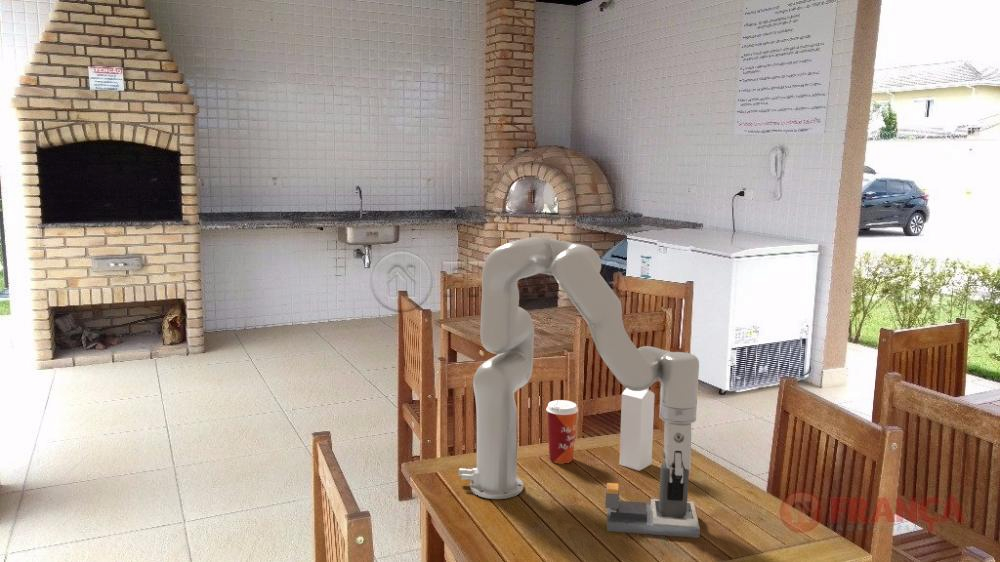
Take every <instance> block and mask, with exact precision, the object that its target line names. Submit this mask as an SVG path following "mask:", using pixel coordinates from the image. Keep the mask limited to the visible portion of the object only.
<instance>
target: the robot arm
mask: <svg viewBox="0 0 1000 562" xmlns="http://www.w3.org/2000/svg"><path fill="white" fill-rule="evenodd" d="M601 269H602V261H601V258H600V255H599V254H598V252H597V251H596V250H595V249H593V248H592V247H590V246H588V245H584V244H580V243H575V242H569V241H563V240H559V239H555V238H550V237H545V236H544V237H543V236H531V237H526V238H521V239H518V240H514V241H510V242H507V243H505V244H503V245H500V246H498V247H497V248H495V249H493V251H491V252H490V253H489V255H488V256H487V257H486V259H485V261H484V263H483V266H482V271H481V305H480V330H479V331H480V332H479V333H480V342H481V345H482V347H483V348H484V349H485V350H486V351H487V352H489V353H491V354H495V355H494V356H493V357H491V358H488V359H487V360H485V361H484V362H482V363H481V364H480V365H479V367H478V368H477V369H476V371H475V373H474V375H473V381H472V382H473V385H472V386H473V392H474V393H473V394H474V399H475V407H476V467H472V468H467V467H466V468H465V467H460V468H459V469H458V477H461V480H463V481H470V483H469V488H470V489H471V490H470V492H471V493H472V494H473V495H476V496H477V495H478V497H481V498H484V499H490V500H503V499H510V498H514V497H516V496H517V495H519V494H521V493H522V492H523V490H524V482H523V480H522V479H520V478H519V477H517V475H518V473H517V471H518V470H517V469H518V410H517V409H518V408H517V405H516V400H515V394H516V393H515V392H518V390H520V389H521V388H524V386H525V385H526V384H527V383H528V382H529V381H530V379H531V377H532V374H533V368H534V347H535V346H534V344H535V325H534V322H533V319H532V317H531V314H530V313H529V312H528V311H527V310H526V309H524V308H522V307H521V306H519V305H520V303H519V301H520V290H519V287H518V282H519V280H521V279H524V278H528V277H533V276H536V275H539V274H544V275H549V276H553V278H554V279H555V281H556V282H557V284H558V285H559V287H560V288H561V289H562V291H563V292H564V293H565V294H566V296H567V297H568V299H569V300H570V302H571V303H572V304H573V305H574V307H575V308H576V309H577V311H578V312H579V313H580V315H581V317H582V318H583V320H585V322H586V324H587V325H588V329H589V332H590V335H591V338H592V339H593V342H594V345H595V347H596V350H597V352H598V354H599V356H600V357H601V359H602V360H603V362H604V363H605V365H606V366H607V367H608V369H609V371H610V372H611V373H612V374H613V376H614V377H615V378H616V380H617V381H618V382H619V383H620V384H621V385H622V386H623V387H624V388H625V389H626V388H628V389H629V390H632V391H643V390H645V389H647V388H648V387H649V388H650V387H651V386H652V385H653V384H654V383H655V382H660V396H659V398H660V399H659V413H658V414H659V415H658V416H659V419H660V420H661V421H662V422H664V428H663V429H664V430H663V450H664V451H663V453H664V452H665V458H664V461H665V460H666V465H667V467H668V468H669V481H668V487H667V499H668V500H675V501H682V500H683V487H684V482H683V465H684V468H685V469H687V470H689V471H690V470H691V469H692V468H691V465H692V464H691V463H692V461H691V459H692V458H691V456H692V424H693V423H695V422H696V421H697V408H698V393H699V392H698V390H699V389H698V388H699V372H700V360H699V358H698V357H697V355H694V354H692V353H689V352H684V351H683V352H682V351H669V350H666V349H663V348H659V347H655V346H649V345H645V346H644V345H643V346H641V347H638V348H637V347H636V345H635V344H634V343H633V341H632V340H631V338H630V336H629V334H628V333H627V330H626V328H625V325H624V322H623V309H622V303H621V301H620V299H619V297H618V295H617V294H616V293H615V292H614V290H613V289H612V288H611V286H609V284H608V283H607V281H606V280H605V279H604V277H603V276H602V275H601V273H600V272H601ZM674 453H675V457H674ZM672 464H674V465H675V467H672ZM672 470H675V472H674V473H673V475H672Z"/></svg>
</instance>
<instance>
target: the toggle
mask: <svg viewBox="0 0 1000 562" xmlns="http://www.w3.org/2000/svg"><path fill="white" fill-rule="evenodd" d="M619 501H620V487H619V483H614V482H607V483H606V487H605V509H607V508H613V509H619Z"/></svg>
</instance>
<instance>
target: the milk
mask: <svg viewBox="0 0 1000 562" xmlns="http://www.w3.org/2000/svg"><path fill="white" fill-rule="evenodd" d="M620 408H621V409H620V410H621V411H620V412H621V413H620V440H619V465H620V466H624V467H626V468H628V469H632V470H635V471H641V470H643V469H645V468H648V467H649V466H651V465H653V464H652V463H653V462H652V461H653V460H652V459H653V440H654V439H653V437H654V416H655V415H654V412H655V411H654V410H655V393H654V392H653V391H652V390H650V387H648V388H647V389H645V390H643V391H632V390H629V389H628V388H626V387H625V389H624V391H623V392H622V393H621V407H620Z"/></svg>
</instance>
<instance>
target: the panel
mask: <svg viewBox="0 0 1000 562" xmlns="http://www.w3.org/2000/svg"><path fill="white" fill-rule="evenodd" d="M694 502H695V501H690V500H689V501H688V500H687V512H686V515H685V516H684V517H682V518H674V517H666V516H663V515H662V514H660V512H659V498H658V499H657V498H650V503H647V502H642V501H641V502H640V501H638V502H637V501H628V500H619V509H613V508H606V518H607V519H606V520H607V521H606V532H614V533H615V532H617V533H632V534H642V535H643V534H644V535H657V536H670V537H683V538H694V539H700V536H701V527H700V523H699V519H698V515H697V514H698V513H697V510H696V506H695V503H694Z"/></svg>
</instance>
